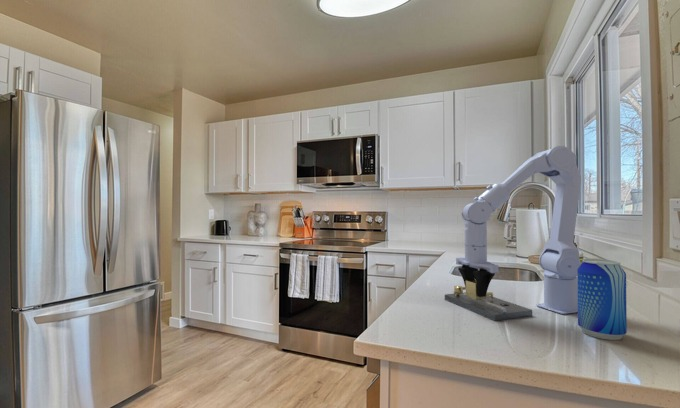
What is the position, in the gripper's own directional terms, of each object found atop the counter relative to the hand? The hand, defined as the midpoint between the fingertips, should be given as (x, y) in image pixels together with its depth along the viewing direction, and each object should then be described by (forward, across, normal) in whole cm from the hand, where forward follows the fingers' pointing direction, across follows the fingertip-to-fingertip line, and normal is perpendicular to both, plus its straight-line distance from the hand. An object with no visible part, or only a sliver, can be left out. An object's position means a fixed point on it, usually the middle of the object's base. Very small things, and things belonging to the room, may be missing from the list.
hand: (476, 294), depth 92 cm
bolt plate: (+4, +1, +2) cm, 4 cm away
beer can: (+4, +25, +12) cm, 28 cm away
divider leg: (+2, 0, +2) cm, 3 cm away
